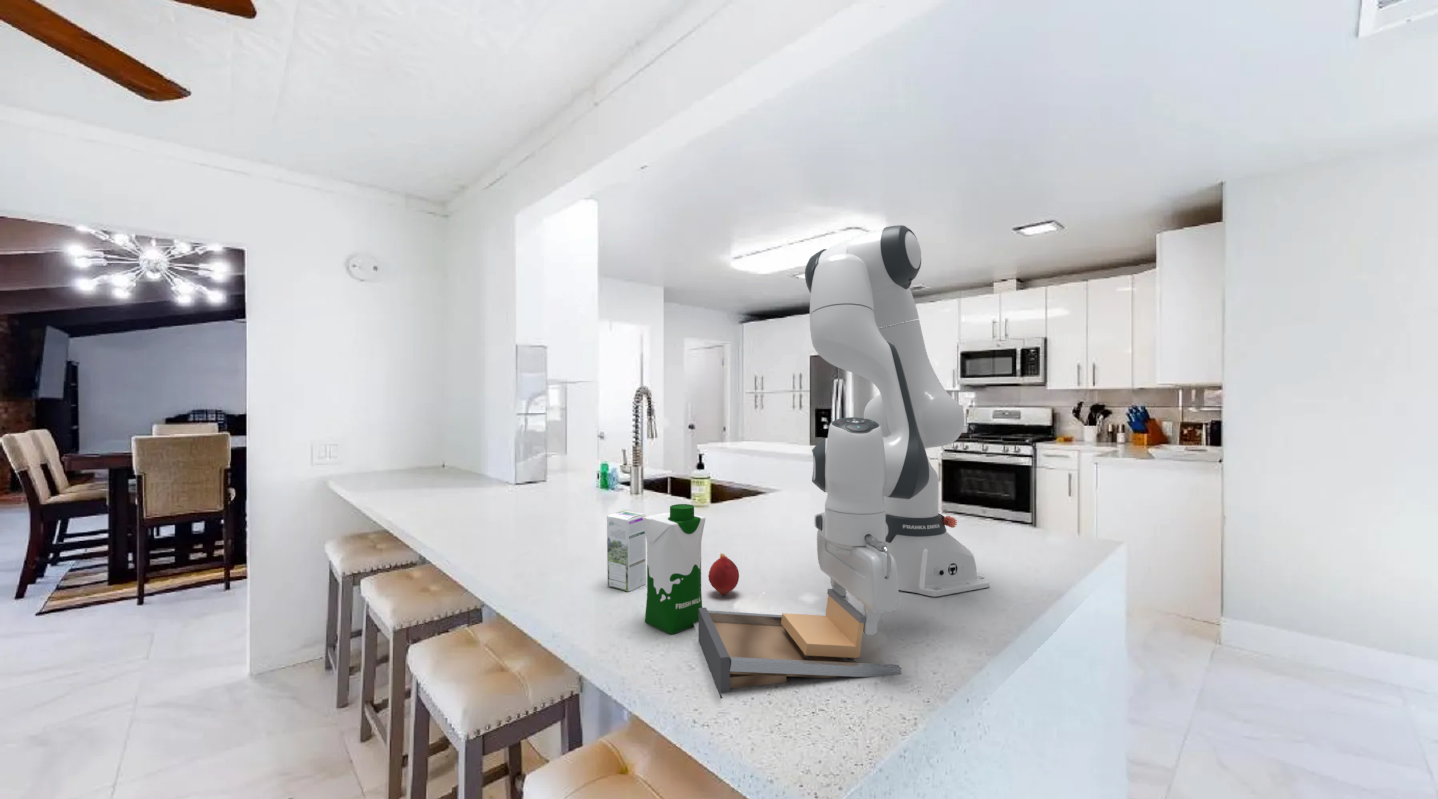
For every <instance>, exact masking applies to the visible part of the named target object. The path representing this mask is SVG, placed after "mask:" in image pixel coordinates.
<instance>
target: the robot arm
mask: <svg viewBox="0 0 1438 799" xmlns="http://www.w3.org/2000/svg"><path fill="white" fill-rule="evenodd" d="M921 267H922V251H921V246H920V242H919V241H918V238H917V236H916V234H915V232H914V231H912V230H911V229H910V228H909V227H907V226H906V225H901V224H900V225H899V224H898V225H890V226H886V227H884V228H883V229H880V230H874V231H870V232H866V233H863V234H859V235H856V236H855V235H854V236H852V237H851V238H850V239H847V240H845V241H842V242H839V243H838V244H834V246H833V245H832V246H831V247H829V248H827V249H826V248H823V249H821V250H820V251H817V252H816V253H815V254H813V255H812V256H810V258H809V259H808V261H807V263H806V266H805V269H804V270H805V271H804V279H805V284H806V287H807V289H808V292H809V293H810V299H809V330H810V338H811V344H812V347H813V349H814V350H815V352H816V353H817V354H818V355H819V356H820V358H822V359H823V360H824V361H826V362H827V363H829V365H832V366H834V367H836V368H838V369H841V370H844V371H847V372H850V373H852V374H855V375H857V376H860V377H862V378H864V379H866V380H868V381H869V382H871V384H873V385H874V386H875V387H876V388H877V389H878V391H879V393H880V394H879V395H876V396H875V397H873V398H872V399H870V400H869V401H868V402H867V404H866V406H865V408H864V411H863V417H850V416H849V417H841V418H837V419H835V420H832V422H830V423H829V426H828V433H827V437H824V438H823V439H821V440H820V441H819V442H818V443H817V444H815V446H814V447H813V448H812V449H811V452H812V458H813V459H812V460H813V461H812V462H813V464H812V465H813V466H812V467H813V468H812V469H813V470H812V475H811V476H812V477H811V478H812V479H811V482H812V483H813V484H814V485H815V486H816V487H817V488H819V490H821V492H823V493H827V496H826V499H825V502H824V511H823V512H821V513H817V514H815V515H814V527H815V528H816V529H817V531H816V550H817V553H816V554H817V563H818V565H819V569H820V571H822V572H823V573H824V574H825V575H827V576H828V577H829V578H830V586H831V589H833V590H835V591H836V592H837V593H838V594H839V595H841V596H842V597H843V598H844V599H845V600H846V601H848V602H849V597H848V596H847V592H848V593H849V594H850V595H851V596H853V597H854V598H855V599H857V601H859V602H860V603H862V605H863V610H864V612H865V613H864V616H865V617H866V623H864V628H863V634H865V635H867V636H874V635H876V634H877V633H878V623H879V620H880V618H881V616H882V614H883V613H890V612H891V613H893V612H895V611H897V609H898V607H899V603H900V596H899V594H900V593H899V592H900V591H902V592H909V593H916V594H920V595H924V596H929V597H933V598H934V597H935V598H936V597H942V596H947V595H952V594H953V595H954V594H959V593H964V592H969V591H973V590H981V589H985V588H986V589H987V588H989V587H990V581H989V579H988V578H987V577H986V576H984V575H983V574H981V573H980V572H978V571H977V564H976V560H975V556H974V554H973V553H972V551H971V550H970V549H969V548H967V546H965V545H963V544H962V543H961V542H960V541H959V540H957V539H956V538H955V537H954V536H952V535H951V534H950V533H948V532H947V531H948V529H947V528H946V527H949V528H951V529H953V528H955V527H956V526H957V525H958V520H957V519H956V518H955V517H951V516H949V515H948V516H944V515H943V514H941V513H940V512H939V488H940V486H939V475H938V473H937V471H936V469H935V468H934V467H933V466H932V465H931V463H930V460H929V457H928V455H927V452H926V449H928V448H929V449H931V448H938V447H944V446H947V445H948V446H949V445H950V444H951V445H952V444H953V443H954V442H955V441H957V440H958V439H959V437H960V436H961V435H962V432H963V430H964V428H965V422H966V421H965V420H966V419H965V413H964V411H963V408H962V406H961V404H960V403H959V402H958V401H957V400H956V399H955V398H953V396H951V395H950V393H948V392H947V390H946V389H945V387H944V386H943V383H941V381H940V380H939V378H938V375H937V374H936V372H935V370H934V368H933V366H932V364H931V362H930V359H929V356H928V354H927V353H928V352H927V348H926V345H925V340H924V336H923V332H922V327H921V323H920V322H921V321H920V317H919V313H918V309H917V305H916V302H915V299H914V298H915V297H914V295H913V293H912V290H911V288H910V287H911V285H912V281H913V280H915V279H916V277H917V276H918V273H919V272H920V269H921Z"/></svg>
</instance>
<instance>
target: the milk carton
mask: <svg viewBox="0 0 1438 799" xmlns="http://www.w3.org/2000/svg"><path fill="white" fill-rule="evenodd" d="M642 519H643V524H644V529H645V534H646V588H647V589H646V592H647V593H646V603H645V617H644V623H646V624H648V625H650V626H652V627H655V628H656V629H659V630H661V631H663V632H665V633H667V634H669V635H670V636H671V635H674V634H677V633H680V632H682V631H685V630H688V629H690V628H693V627H694V626H695V623H697V622H698V608H703V600H702V599H703V597H702V540H703V534H704V528H705V524H706V517H705V516H702V515H698V514H695V506H694V505H693V504H689V503H688V504H687V503H677V504H672V505H670V506H669V511H668V512H662V513H656V514H651V515H647V516H646V515H645V517H642Z"/></svg>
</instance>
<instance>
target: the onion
mask: <svg viewBox="0 0 1438 799" xmlns="http://www.w3.org/2000/svg"><path fill="white" fill-rule="evenodd" d="M739 572H740V571H739V569H738V567H737V565H736V563H735V562H733V561H732V560H731V559H730V558H729V557H727V556H726V554H725V553H720V554H719V558H718V559H717V560H716V561H714V562H713V563H712V564H711V566H710V569H709V571H708V582H709V584H710V585H711V586H712V588H714V590H716V592H718V594H719V595H721V596H725V595H727V594H729V593H730V592H732V591H733V590H734V589H736V587H737V585H738V583H739V578H740V573H739Z"/></svg>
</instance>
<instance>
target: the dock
mask: <svg viewBox="0 0 1438 799" xmlns="http://www.w3.org/2000/svg"><path fill="white" fill-rule="evenodd" d="M781 619H782V614H771V613H770V614H769V613H754V612H738V611H736V612H735V611H725V610H724V611H720V610H708V608H707V607H702V608H698V621H697V622H698V643H699V646H700V649H701V651H702V654H703V656H704V660H705V661H706V662H705V663H706V664H707V667H708V670H709V672H710V674H711V677H712V680H713V682H714V685H715V689H716V690H717V692H718V695H719V698H720V699H723V695H722V694H726V693H730V692H731V689H733V688H734V689H735V688H744V687H751V686H752V687H753V686H762V685H773V684H781V683H787V677H793V678H794V677H797V678H798V677H799V678H818V679H819V678H821V679H827V678H837V677H853V678H855V677H856V678H857V677H858V678H859V677H860V678H873V677H874V678H875V677H882V676H883V677H884V676H891V675H892V676H893V675H901V674H902V667H901V666H900V665H899V664H890V663H889V664H887V663H884V664H883V663H871V662H870V663H866V662H865V663H864V662H855V660H854V659H853V660H852V661H849V660H848V659H847V658H846V657H828V656H811V658H809V659H807V658H805V657H804V655H803V651H802V650H801V649H800V647H799V646H798V645H797V644H796V642H795V641H794V640H793V638H792V637H791V636H790V634H789V633H786V632H785V630H784V627H783V625H782V624H781Z"/></svg>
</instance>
